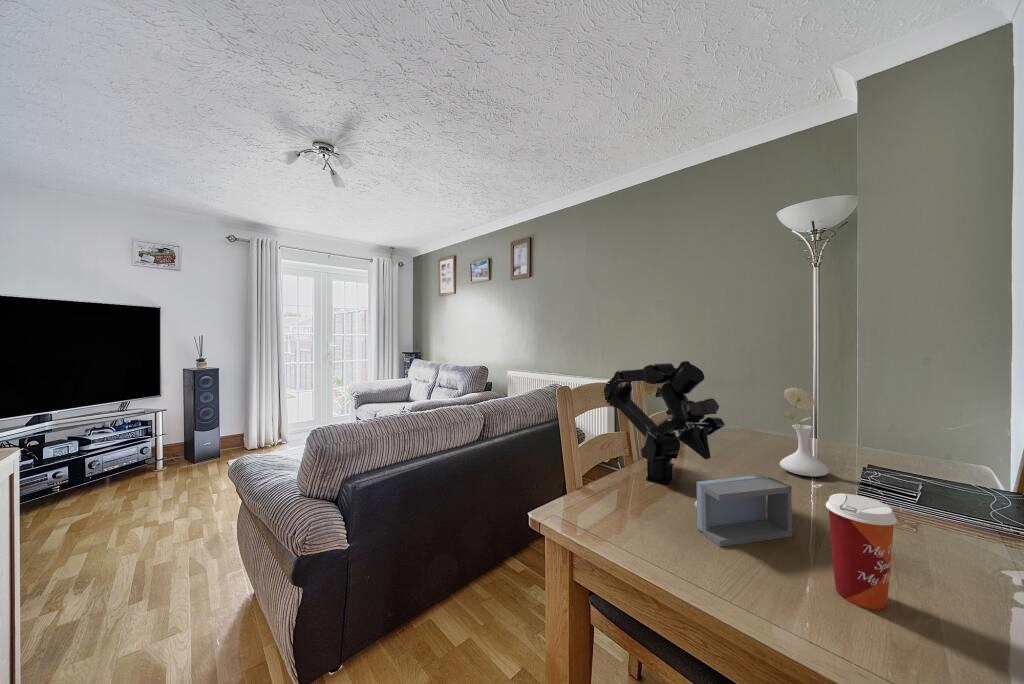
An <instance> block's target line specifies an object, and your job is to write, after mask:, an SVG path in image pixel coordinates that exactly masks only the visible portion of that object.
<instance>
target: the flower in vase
mask: <svg viewBox="0 0 1024 684" xmlns="http://www.w3.org/2000/svg"><path fill="white" fill-rule="evenodd" d="M783 393H784V395H783V397H785V398H786V400H787V401H788V402H789V404H791V405H792V406H793V407H794V408H793V413H791V412H790V411H786V412H784V414H783V415H782V416H783V417H786V418H788V419H789V420H794V419H796V422H797V424H792V428H793V429H794V430H795V431H796V436H797V441H798V445H797V449H796V451H795V452H793V453H791V454H790V455H787V456H785V457H784V458H782V459H781V460H780V462H779V466H780V467H781V468H782V469H784V470H785V471H787V472H790V473H792V474H794V475H795V474H796V475H800V476H805V477H814V478H815V477H823V476H826V475H828V473H829V472H830V471H829V468H828V467H827V466H826V465H825V464H824V463H823V462H822V461H821V460H819V459H818V458H816V457H815V456H813V455H812V453H811V452H810V451H809V437H810V434H811V432H812V431H813V430H814V429H815V427H814V426H811V425H806V424H801V423H802V422H806V421H808V420H810V419H811V418H812V416H810V417H805V418H803V419H800V420H799V419H798V418H797V416H796V407H797V408H799V409H800V410H801V409H802V410H810V409H814V406H815V399H814V398H813V396H812V395H811V394H809V392H808V391H804V390H803V389H802V388H797V387H795V386H794V387H790V388H786V389H785V390H784V392H783Z"/></svg>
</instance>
